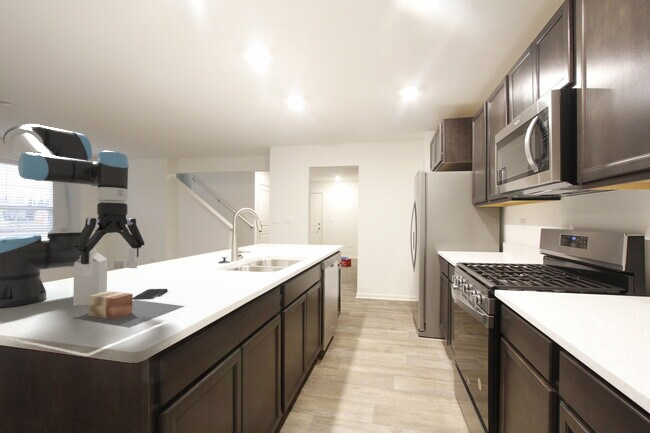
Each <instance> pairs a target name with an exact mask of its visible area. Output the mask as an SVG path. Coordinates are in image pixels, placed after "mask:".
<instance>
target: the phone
mask: <svg viewBox="0 0 650 433" xmlns="http://www.w3.org/2000/svg"><path fill="white" fill-rule="evenodd" d="M168 291H169V290H168V288H150V289H149V288H148V289H146V290H145V291H142V292H141V293H139V294H137V295H134V296H133V298H132V301H133V300H154V299H155V298H158V297H161V296H163V295H164V294H166V293H167V292H168Z"/></svg>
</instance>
